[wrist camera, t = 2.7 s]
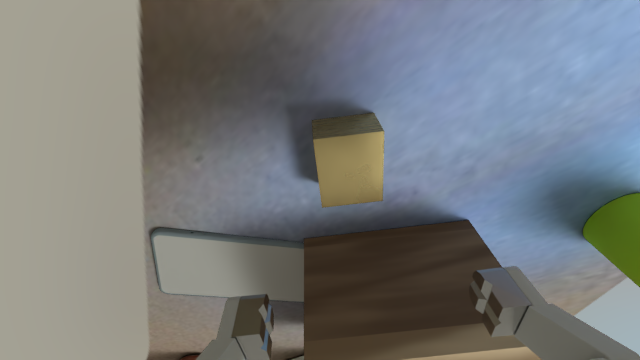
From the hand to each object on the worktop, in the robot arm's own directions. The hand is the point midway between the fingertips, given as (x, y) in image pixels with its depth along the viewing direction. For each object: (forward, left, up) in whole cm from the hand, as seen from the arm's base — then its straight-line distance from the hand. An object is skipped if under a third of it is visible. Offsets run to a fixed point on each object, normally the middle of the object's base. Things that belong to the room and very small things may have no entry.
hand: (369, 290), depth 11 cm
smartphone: (+10, -10, -11) cm, 18 cm away
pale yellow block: (-1, 0, -11) cm, 11 cm away
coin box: (+14, +3, -10) cm, 18 cm away
